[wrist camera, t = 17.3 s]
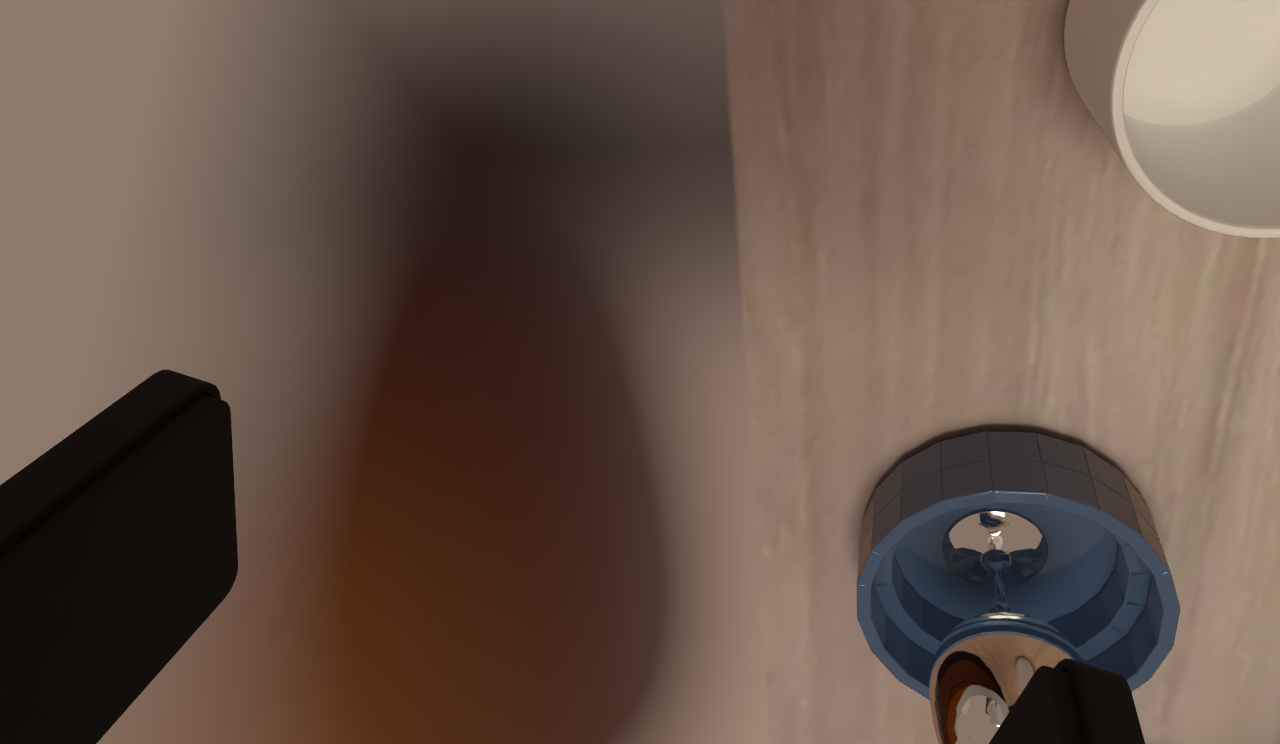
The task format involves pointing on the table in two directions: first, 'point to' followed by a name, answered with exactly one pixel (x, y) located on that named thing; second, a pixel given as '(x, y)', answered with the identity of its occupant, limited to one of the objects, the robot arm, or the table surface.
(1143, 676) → the bowl
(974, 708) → the wineglass
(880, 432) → the table surface
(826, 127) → the table surface
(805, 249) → the table surface
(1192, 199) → the cup
